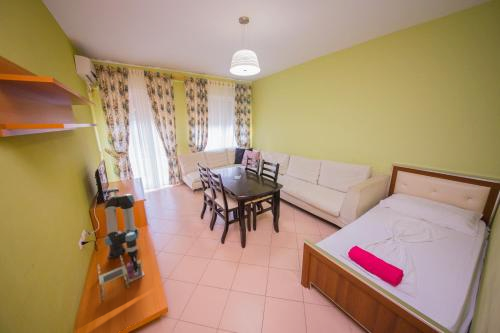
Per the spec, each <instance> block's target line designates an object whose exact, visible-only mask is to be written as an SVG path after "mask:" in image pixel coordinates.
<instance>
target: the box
mask: <svg viewBox="0 0 500 333" xmlns="http://www.w3.org/2000/svg"><path fill="white" fill-rule="evenodd" d="M137 267H138V275H141V274H142V270H143V266H142V260H141V259H138V260H137ZM133 269H134V266H133V262H127V264H126V270H127V274H128V278H132V277H135V276H138V275H134V270H133Z"/></svg>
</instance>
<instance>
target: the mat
mask: <svg viewBox="0 0 500 333" xmlns="http://www.w3.org/2000/svg"><path fill="white" fill-rule="evenodd" d="M144 276H145V272H144V270H143V271H142V274H141V275H138V276H135V277H132V278H128V281H129V284H130V283H131V282H134V281H136V280H139V279H140V278H143V277H144Z"/></svg>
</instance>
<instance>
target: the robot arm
mask: <svg viewBox="0 0 500 333" xmlns="http://www.w3.org/2000/svg"><path fill="white" fill-rule="evenodd" d="M135 201H136V200H135V198H134V194H133V193H126V194H119V195H114V196H111V197H110V198H108V200H107V201H106V202H105V204H104V207H103V208H104V212H105V217H106V221H105V222H106V233H107V234H106V235H107V236H104V239H103V241H104V245H105V246H107V247H108V248H109V251H108V254H107V256H108V259H118V258H120V256H122V257H123V256H124V255H125V254H126V252H127V256H128V257H129V258H130V261H131V262H133V266H134V269H133V270H134V275H138V267H137V255H138V251H139V249H138V243H137V242H138V241H137V240H138V239H139V234H140V233H139V231H140V230H139V228H137V226H135V218H134V210H133V208H134V206H135V205H136V202H135ZM118 208H119V209H121V210H122V215H123V221H124V222H123V224H124V230H123V231H120V230H118V229H119V227H118V219H117V210H118ZM125 244H126V247H125ZM131 262H130V263H131Z"/></svg>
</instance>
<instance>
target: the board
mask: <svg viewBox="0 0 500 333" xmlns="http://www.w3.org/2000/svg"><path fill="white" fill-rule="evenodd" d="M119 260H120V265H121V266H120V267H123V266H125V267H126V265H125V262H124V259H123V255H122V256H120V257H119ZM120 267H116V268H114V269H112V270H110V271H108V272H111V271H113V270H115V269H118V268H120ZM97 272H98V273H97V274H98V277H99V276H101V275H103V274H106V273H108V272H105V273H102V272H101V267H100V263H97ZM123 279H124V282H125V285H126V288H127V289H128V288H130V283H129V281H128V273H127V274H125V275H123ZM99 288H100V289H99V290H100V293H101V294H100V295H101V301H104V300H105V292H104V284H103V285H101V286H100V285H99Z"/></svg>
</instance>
